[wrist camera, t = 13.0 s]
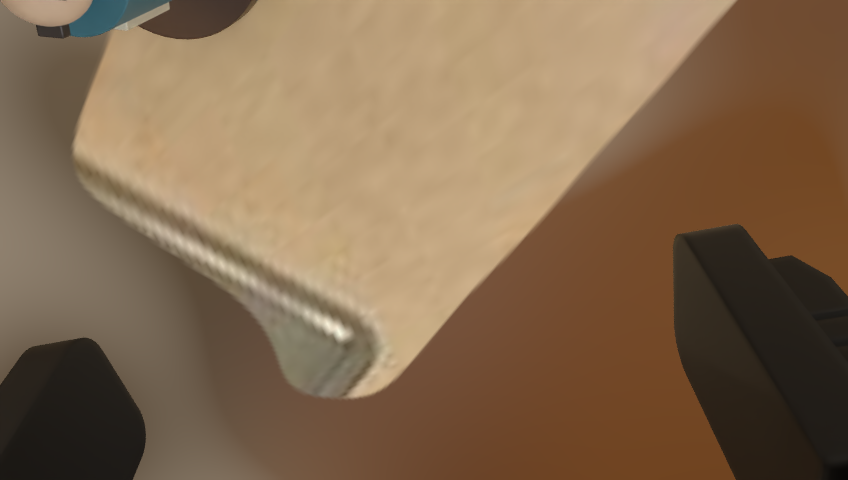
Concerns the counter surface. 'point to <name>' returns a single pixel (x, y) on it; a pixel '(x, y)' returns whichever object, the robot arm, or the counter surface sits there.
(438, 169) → the counter surface
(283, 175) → the counter surface
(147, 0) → the teal pump bottle
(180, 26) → the stand
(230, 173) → the counter surface
